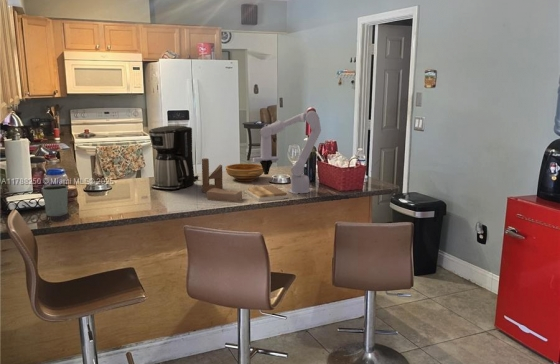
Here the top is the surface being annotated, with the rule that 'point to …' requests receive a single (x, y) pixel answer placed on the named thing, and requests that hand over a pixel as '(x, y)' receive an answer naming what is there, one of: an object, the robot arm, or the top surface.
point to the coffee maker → (173, 157)
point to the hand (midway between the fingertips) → (266, 174)
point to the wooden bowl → (244, 171)
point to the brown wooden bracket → (211, 176)
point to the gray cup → (55, 200)
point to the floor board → (277, 195)
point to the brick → (224, 195)
